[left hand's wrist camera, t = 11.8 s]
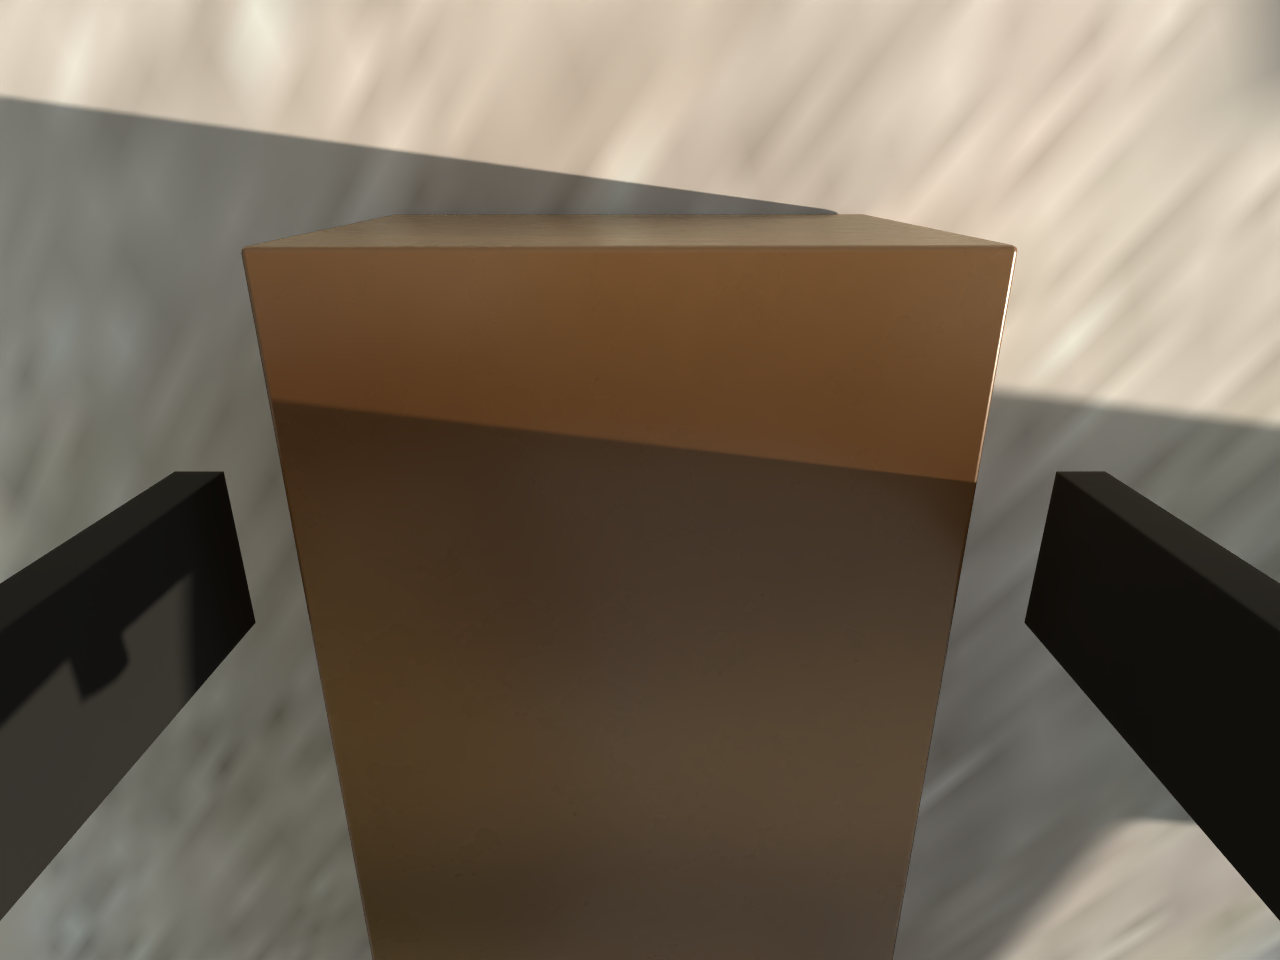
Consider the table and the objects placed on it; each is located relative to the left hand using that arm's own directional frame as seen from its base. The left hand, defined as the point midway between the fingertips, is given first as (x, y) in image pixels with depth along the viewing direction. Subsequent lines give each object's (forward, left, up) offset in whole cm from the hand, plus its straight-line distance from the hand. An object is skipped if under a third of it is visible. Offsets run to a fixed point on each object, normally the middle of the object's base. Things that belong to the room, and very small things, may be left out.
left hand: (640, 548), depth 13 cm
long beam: (+21, +23, -5) cm, 32 cm away
